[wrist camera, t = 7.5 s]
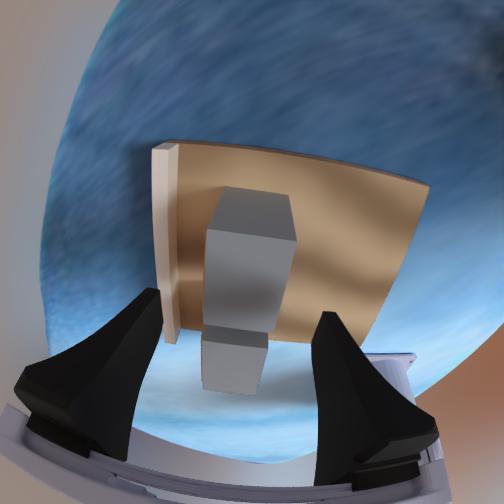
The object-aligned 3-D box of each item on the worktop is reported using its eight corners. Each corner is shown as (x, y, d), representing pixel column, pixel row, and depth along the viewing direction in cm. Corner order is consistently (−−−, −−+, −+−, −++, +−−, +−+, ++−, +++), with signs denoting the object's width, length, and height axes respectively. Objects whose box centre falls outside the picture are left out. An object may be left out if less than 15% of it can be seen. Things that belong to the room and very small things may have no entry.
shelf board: (358, 336, 26) (361, 345, 25) (173, 317, 26) (170, 326, 24) (422, 181, 18) (430, 187, 16) (169, 139, 17) (163, 142, 16)
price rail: (181, 328, 25) (175, 344, 23) (169, 325, 24) (163, 342, 23) (178, 143, 16) (168, 149, 14) (161, 142, 16) (149, 148, 14)
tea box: (272, 272, 21) (273, 333, 16) (216, 264, 21) (200, 323, 16) (288, 195, 18) (297, 241, 13) (223, 185, 18) (203, 228, 12)
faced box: (258, 338, 25) (255, 395, 20) (211, 332, 25) (200, 388, 19) (268, 287, 22) (268, 348, 16) (214, 280, 21) (199, 340, 16)
